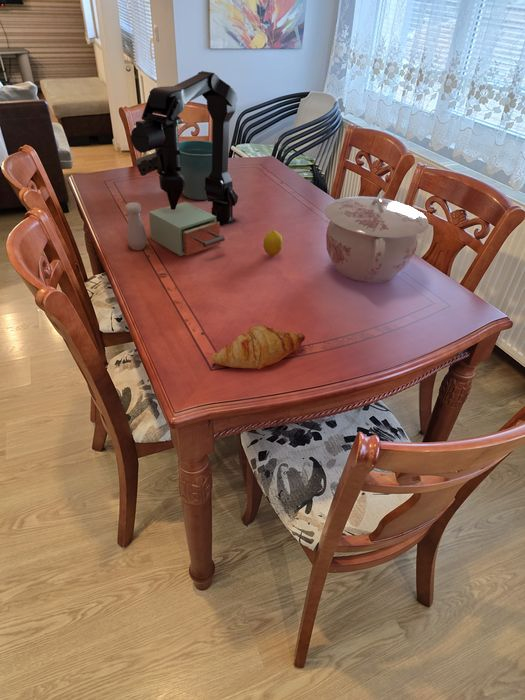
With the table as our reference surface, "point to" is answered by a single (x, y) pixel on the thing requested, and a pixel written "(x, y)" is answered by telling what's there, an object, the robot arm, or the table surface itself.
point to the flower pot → (195, 167)
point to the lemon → (273, 243)
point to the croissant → (258, 348)
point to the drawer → (201, 237)
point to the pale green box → (175, 224)
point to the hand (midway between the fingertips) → (171, 203)
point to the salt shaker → (135, 227)
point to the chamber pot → (372, 236)
